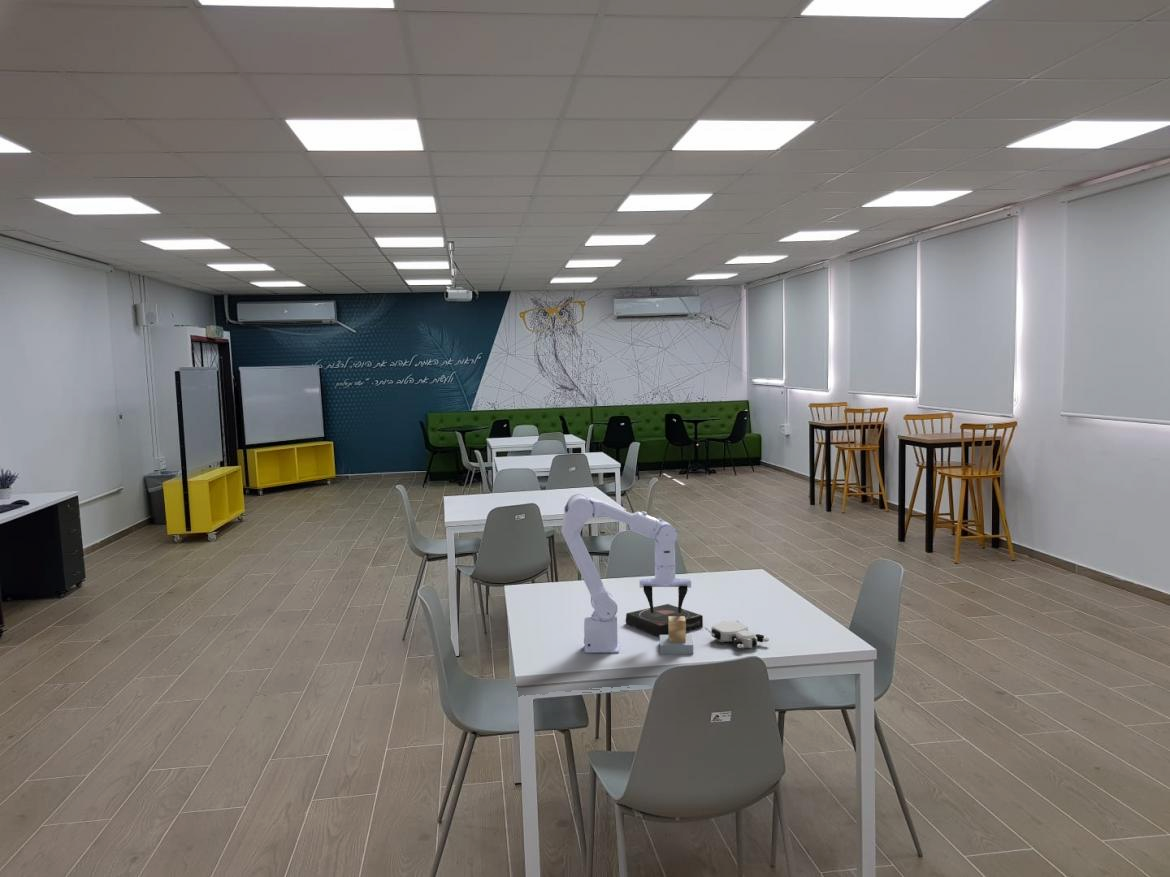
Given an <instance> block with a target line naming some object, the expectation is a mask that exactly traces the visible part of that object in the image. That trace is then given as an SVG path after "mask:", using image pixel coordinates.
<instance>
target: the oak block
mask: <svg viewBox="0 0 1170 877" xmlns="http://www.w3.org/2000/svg"><path fill="white" fill-rule="evenodd" d="M668 632H669V642H686V635H687V633H686V632H687V631H686V620H685V616H668Z"/></svg>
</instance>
